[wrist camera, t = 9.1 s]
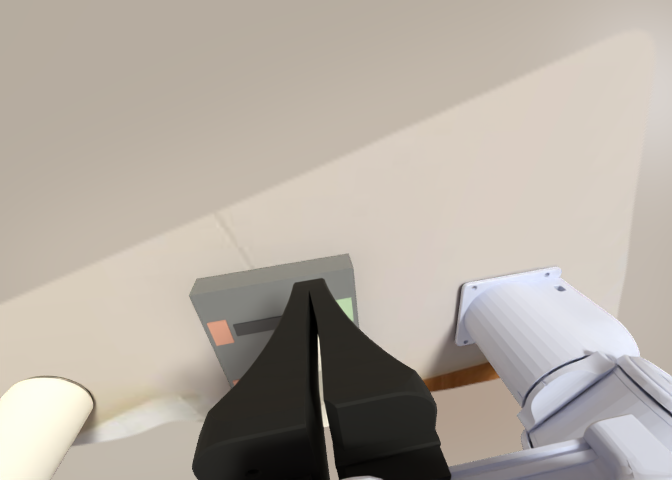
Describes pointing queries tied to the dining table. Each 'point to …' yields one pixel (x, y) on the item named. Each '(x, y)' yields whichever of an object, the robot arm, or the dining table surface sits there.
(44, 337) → the dining table surface
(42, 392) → the can
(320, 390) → the block
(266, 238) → the dining table surface
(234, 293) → the panel
